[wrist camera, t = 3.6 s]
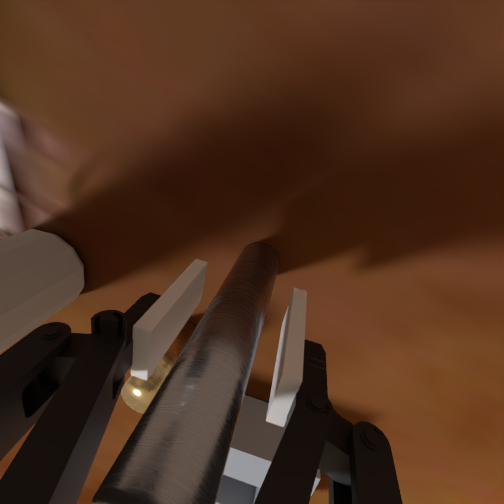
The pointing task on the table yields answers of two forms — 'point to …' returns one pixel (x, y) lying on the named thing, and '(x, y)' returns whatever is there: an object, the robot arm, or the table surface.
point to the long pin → (198, 397)
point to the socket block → (250, 454)
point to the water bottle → (35, 281)
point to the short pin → (155, 374)
